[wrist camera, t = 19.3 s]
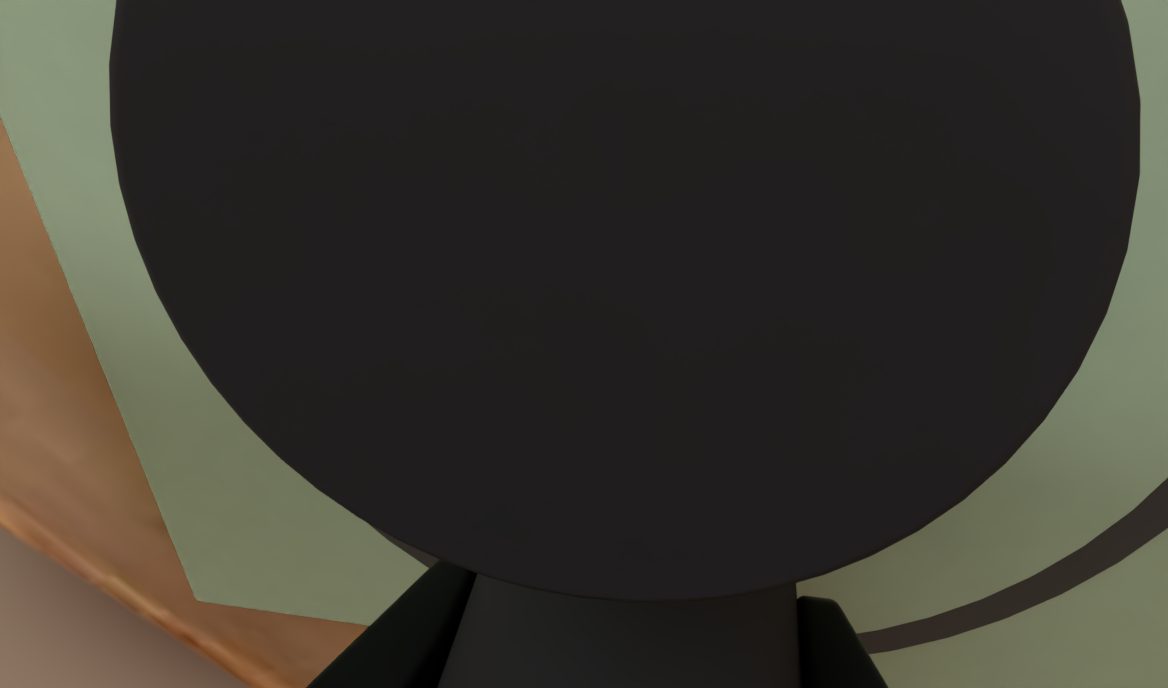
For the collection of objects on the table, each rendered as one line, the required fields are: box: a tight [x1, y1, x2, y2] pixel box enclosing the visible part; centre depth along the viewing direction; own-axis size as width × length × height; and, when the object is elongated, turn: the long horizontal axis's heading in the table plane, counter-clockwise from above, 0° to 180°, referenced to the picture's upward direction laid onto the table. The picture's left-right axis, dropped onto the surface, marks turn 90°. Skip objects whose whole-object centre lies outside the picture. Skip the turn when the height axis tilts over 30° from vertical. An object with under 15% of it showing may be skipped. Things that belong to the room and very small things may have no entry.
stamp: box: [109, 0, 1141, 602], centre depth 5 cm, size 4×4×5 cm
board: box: [0, 0, 1168, 688], centre depth 9 cm, size 16×13×1 cm
